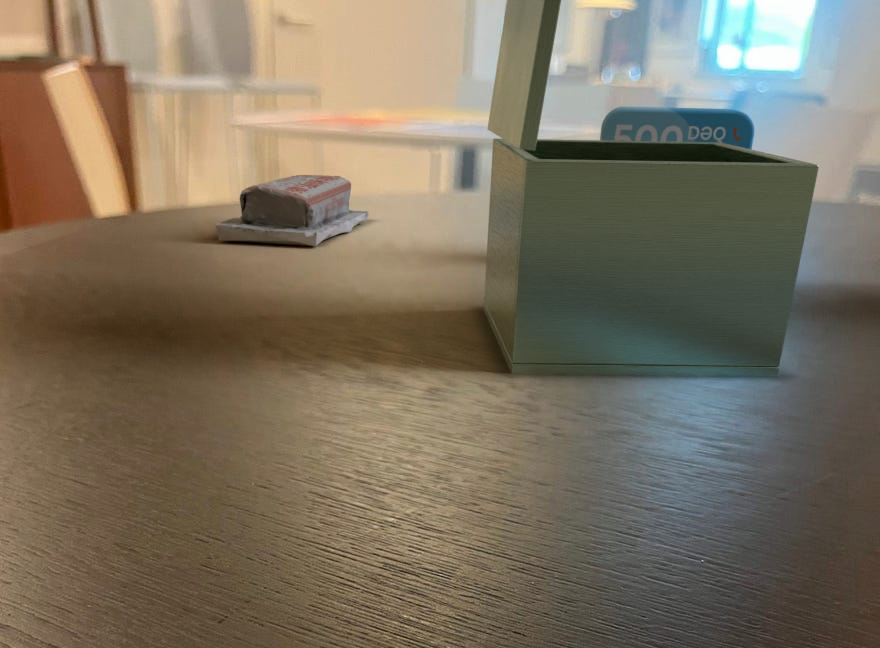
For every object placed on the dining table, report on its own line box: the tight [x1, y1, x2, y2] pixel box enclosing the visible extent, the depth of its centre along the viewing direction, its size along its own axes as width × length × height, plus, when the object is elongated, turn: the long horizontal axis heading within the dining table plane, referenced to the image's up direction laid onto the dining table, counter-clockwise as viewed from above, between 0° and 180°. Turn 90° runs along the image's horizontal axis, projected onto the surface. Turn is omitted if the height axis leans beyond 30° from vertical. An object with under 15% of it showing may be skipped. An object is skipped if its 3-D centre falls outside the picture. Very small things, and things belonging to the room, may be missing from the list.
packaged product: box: [215, 174, 369, 247], centre depth 100 cm, size 18×5×10 cm
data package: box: [599, 106, 755, 150], centre depth 86 cm, size 12×4×12 cm, turn 82°
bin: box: [483, 138, 820, 378], centre depth 60 cm, size 15×17×11 cm
